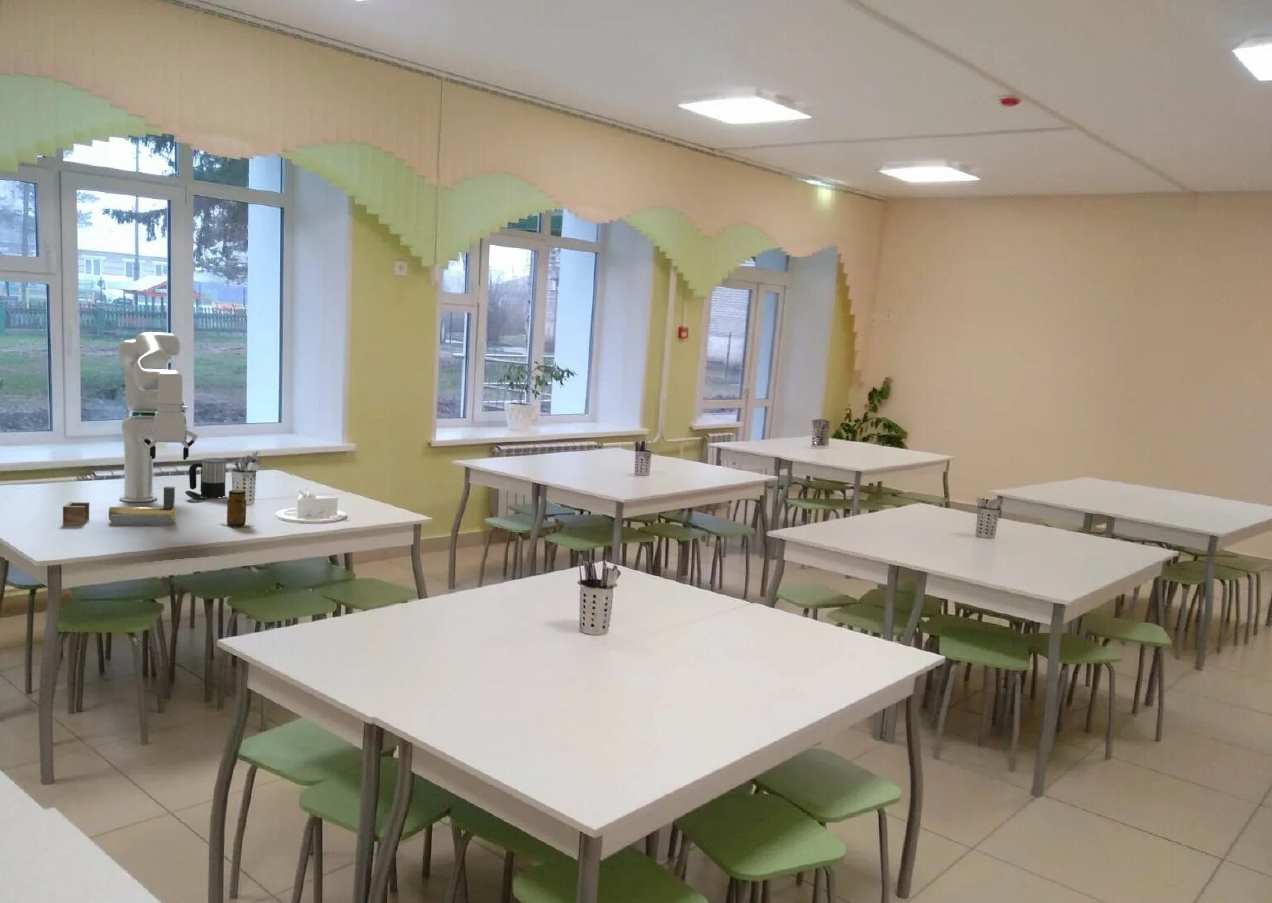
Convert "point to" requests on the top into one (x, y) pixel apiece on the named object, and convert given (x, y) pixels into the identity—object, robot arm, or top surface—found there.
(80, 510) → the socket
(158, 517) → the channel
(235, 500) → the condiment
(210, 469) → the milk frother
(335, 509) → the dish
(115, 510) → the bolt
